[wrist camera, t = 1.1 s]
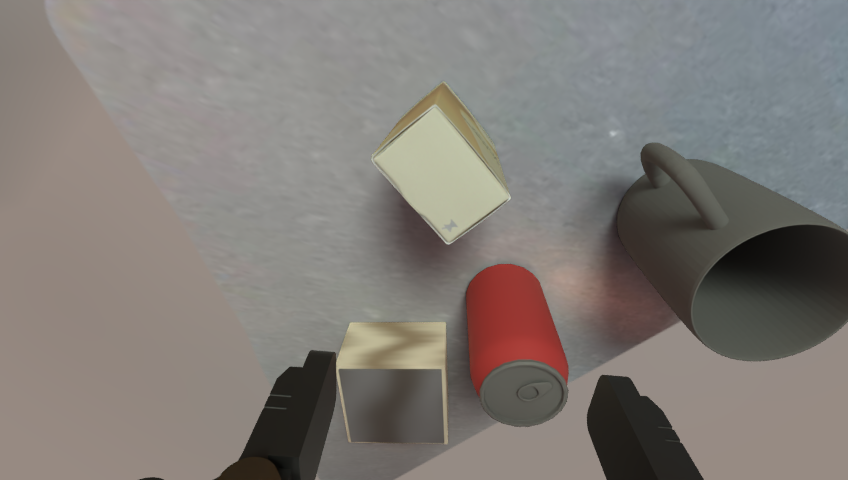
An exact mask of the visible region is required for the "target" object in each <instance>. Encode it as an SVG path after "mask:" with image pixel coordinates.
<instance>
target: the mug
mask: <svg viewBox="0 0 848 480" xmlns="http://www.w3.org/2000/svg"><path fill="white" fill-rule="evenodd" d="M641 162H642V165H643V168H644V171H645V173H646V174H644V175H643V176H642V177H641V178H639V179H638V180H637V181H636V182H635V183H634V184H633V185H632V186H631V188H630V189H629V190H628V192H627V193H626V195H625V196H624V198H623V200H622V202H621V205H620V208H619V211H618V217H617V230H618V234H619V237H620V240H621V242H622V244H623V246H624V247H625V249H626V250H627V252H628V253H629V255H630V256H631V258H632V259H633V260H634V262H635V263H636V264H637V266H638V267H639V268H640V270H641V271H642V272H643V274H644V275H645V276H646V277H647V279H648V280H649V281H650V283H651V284H652V285H653V286H654V288H655V289H656V290H657V291H658V293H659V294H660V295H661V296H662V298H663V299H664V300H665V301H666V303H667V304H668V305H669V306H670V307H671V309H672V310H673V311H674V312H675V313H676V315H677V316H678V317H679V318H680V319H681V321H682V322H683V323H684V324H685V325H686V326H687V328H688V329H689V330H690V331H691V332H692V333H693V334H694V335H695V336H696V337H697V338H698V339H699V340H700V341H701V342H702V343H703V344H704V345H705V346H707V347H708V348H710V349H711V350H713V351H714V352H716V353H718V354H720V355H722V356H725V357H728V358H732V359H736V360H743V361H767V360H775V359H779V358H784V357H788V356H791V355H794V354H797V353H800V352H802V351H805V350H807V349H810V348H811V347H814V346H816V345H817V344H819V343H821V342H823V341H824V340H826V339H827V338H829V337H830V336H832V335H833V334H834V333H836V332H837V331H838V330H839V329H841V328H842V327H843V326H844V325H845V324H846V323H847V322H848V232H847V231H846V230H844V229H843V228H841V227H840V226H838V225H837V224H835V223H833V222H831V221H829V220H828V219H826V218H824V217H822V216H821V215H819V214H817V213H815V212H813V211H811V210H809V209H807V208H805V207H803V206H801V205H800V204H798V203H796V202H794V201H792V200H790V199H788V198H786V197H784V196H782V195H780V194H778V193H776V192H774V191H772V190H770V189H768V188H766V187H764V186H762V185H760V184H758V183H756V182H754V181H751V180H749V179H747V178H745V177H743V176H741V175H739V174H737V173H735V172H733V171H730V170H728V169H726V168H724V167H721V166H719V165H716V164H713V163H710V162H706V161H702V160H696V159H685V158H684V157H682V156H681V155H680V154H678V153H677V152H675V151H674V150H672V149H670V148H669V147H667V146H664V145H662V144H660V143H649V144H647V145H645V146H644V147H643V149H642V151H641Z"/></svg>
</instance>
